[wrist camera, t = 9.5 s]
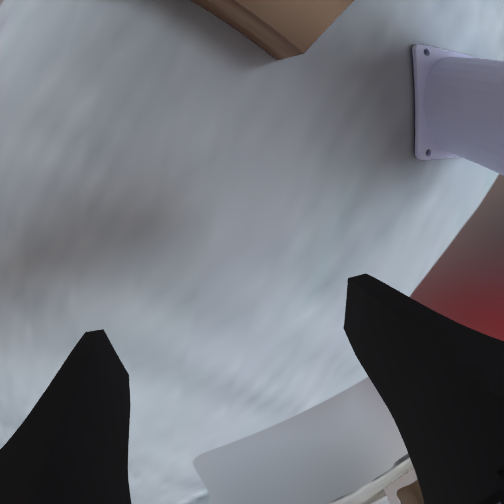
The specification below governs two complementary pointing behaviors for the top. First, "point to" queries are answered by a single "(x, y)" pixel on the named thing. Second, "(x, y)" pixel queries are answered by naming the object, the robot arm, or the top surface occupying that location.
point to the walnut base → (278, 21)
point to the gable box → (405, 490)
